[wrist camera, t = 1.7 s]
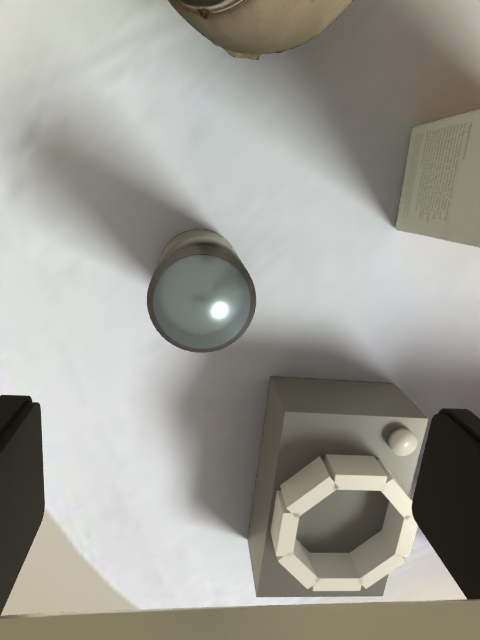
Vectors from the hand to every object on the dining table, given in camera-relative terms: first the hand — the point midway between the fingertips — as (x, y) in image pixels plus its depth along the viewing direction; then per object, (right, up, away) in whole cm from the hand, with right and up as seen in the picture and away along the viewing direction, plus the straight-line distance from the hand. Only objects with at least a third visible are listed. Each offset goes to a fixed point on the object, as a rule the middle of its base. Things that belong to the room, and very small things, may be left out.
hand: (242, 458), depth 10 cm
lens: (-3, +6, +18) cm, 19 cm away
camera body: (+6, -8, +23) cm, 25 cm away
